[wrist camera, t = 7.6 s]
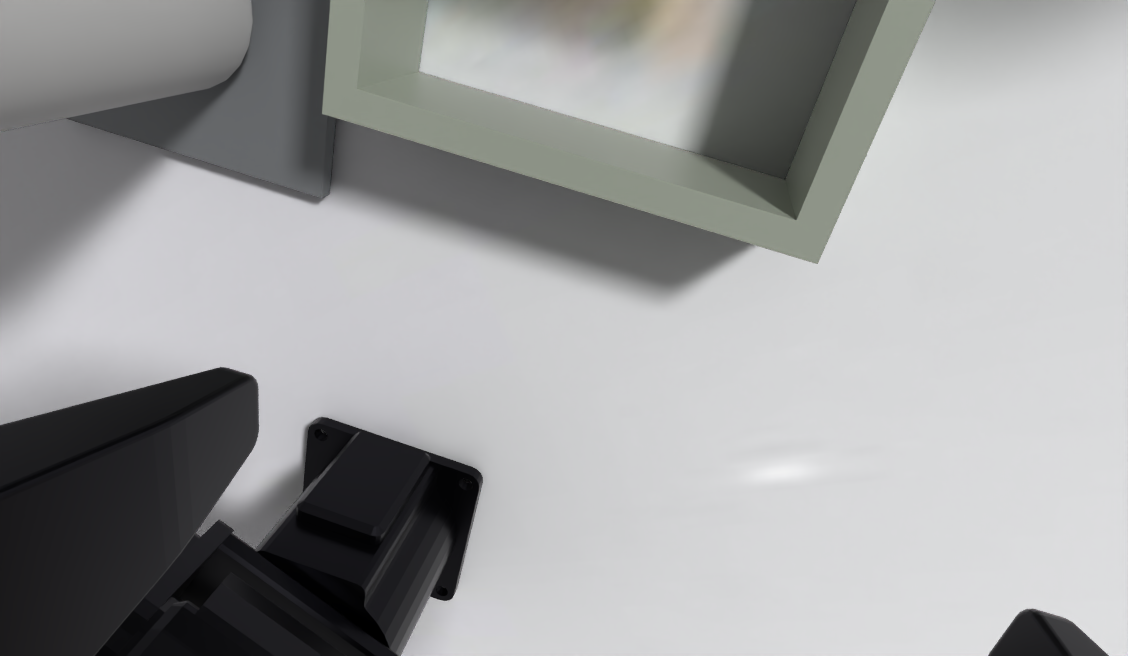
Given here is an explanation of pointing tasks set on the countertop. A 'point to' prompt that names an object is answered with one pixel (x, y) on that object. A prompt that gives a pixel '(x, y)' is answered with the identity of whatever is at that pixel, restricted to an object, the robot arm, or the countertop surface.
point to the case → (617, 159)
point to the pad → (252, 105)
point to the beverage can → (113, 53)
